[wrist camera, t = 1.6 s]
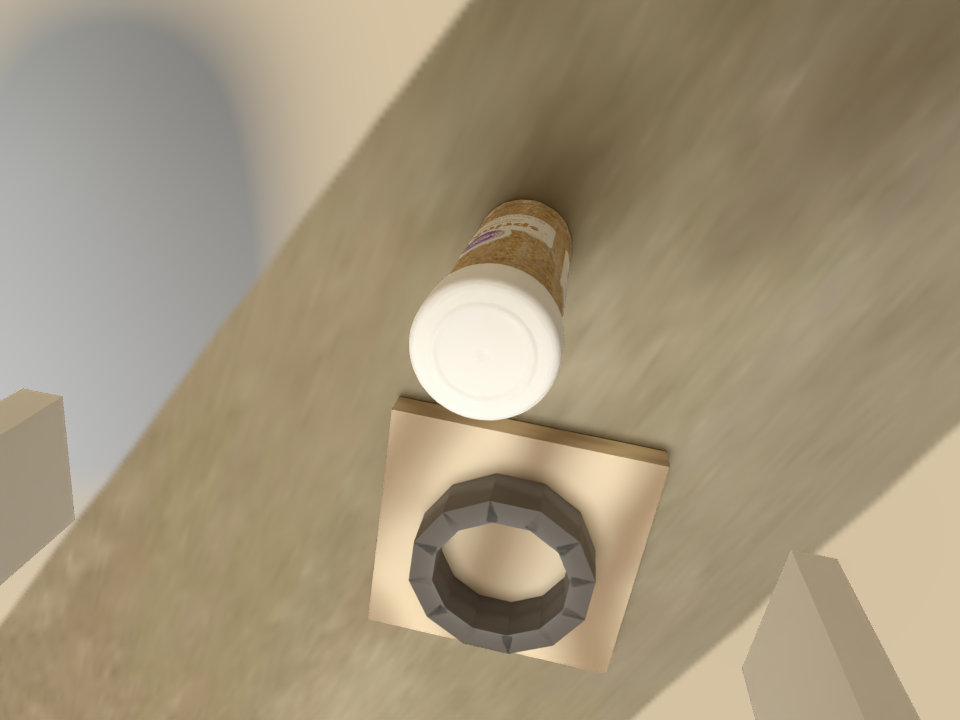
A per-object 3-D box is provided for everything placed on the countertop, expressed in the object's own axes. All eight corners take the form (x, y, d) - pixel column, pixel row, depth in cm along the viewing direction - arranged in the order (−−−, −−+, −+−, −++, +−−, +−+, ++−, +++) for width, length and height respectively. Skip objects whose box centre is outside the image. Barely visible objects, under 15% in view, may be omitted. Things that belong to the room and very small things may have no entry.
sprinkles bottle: (527, 176, 31) (485, 245, 19) (593, 251, 32) (595, 364, 20) (455, 243, 33) (374, 348, 20) (520, 313, 34) (480, 453, 21)
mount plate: (666, 451, 35) (675, 495, 32) (605, 653, 41) (606, 711, 37) (399, 396, 36) (378, 433, 33) (375, 601, 42) (355, 651, 38)
